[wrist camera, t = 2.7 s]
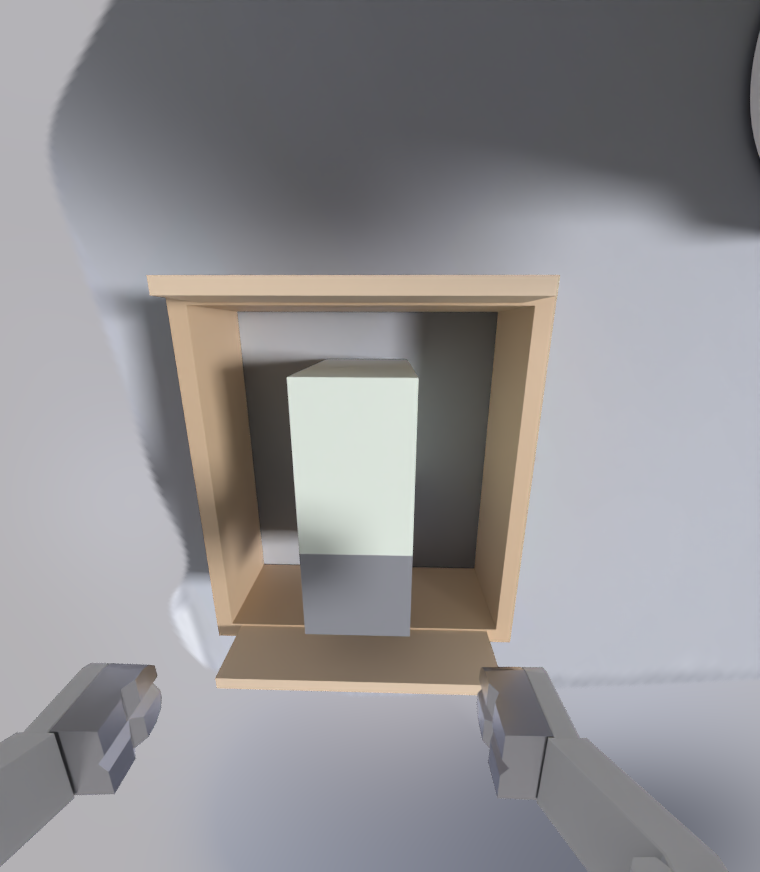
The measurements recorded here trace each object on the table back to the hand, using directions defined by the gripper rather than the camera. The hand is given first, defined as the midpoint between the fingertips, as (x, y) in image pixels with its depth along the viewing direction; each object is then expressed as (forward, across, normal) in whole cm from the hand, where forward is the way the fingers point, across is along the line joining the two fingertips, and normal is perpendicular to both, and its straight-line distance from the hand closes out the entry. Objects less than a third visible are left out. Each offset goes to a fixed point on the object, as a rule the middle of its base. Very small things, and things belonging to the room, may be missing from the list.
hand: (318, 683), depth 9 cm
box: (+13, -1, -2) cm, 13 cm away
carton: (+13, -1, -2) cm, 13 cm away
